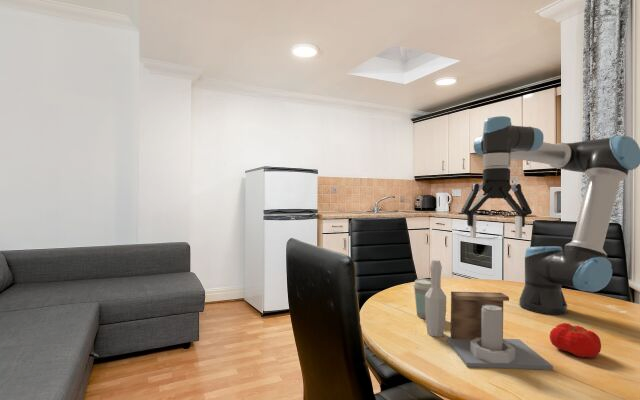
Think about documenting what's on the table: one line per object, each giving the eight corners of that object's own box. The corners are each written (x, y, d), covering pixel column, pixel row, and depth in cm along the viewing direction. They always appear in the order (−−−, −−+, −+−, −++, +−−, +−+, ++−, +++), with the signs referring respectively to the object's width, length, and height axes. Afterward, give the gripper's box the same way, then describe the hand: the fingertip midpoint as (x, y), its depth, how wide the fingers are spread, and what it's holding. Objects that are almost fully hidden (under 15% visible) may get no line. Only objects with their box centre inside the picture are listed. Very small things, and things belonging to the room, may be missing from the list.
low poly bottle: (421, 329, 111) (422, 258, 110) (442, 330, 110) (443, 258, 110) (427, 337, 104) (428, 262, 104) (449, 338, 104) (450, 262, 104)
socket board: (519, 342, 101) (519, 330, 101) (552, 369, 85) (552, 355, 85) (446, 340, 102) (447, 328, 102) (466, 366, 86) (467, 352, 86)
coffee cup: (440, 321, 118) (440, 285, 118) (413, 319, 120) (414, 283, 120) (437, 313, 127) (437, 279, 126) (412, 311, 128) (412, 278, 128)
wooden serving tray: (500, 342, 101) (501, 292, 101) (508, 348, 97) (509, 297, 97) (450, 340, 102) (451, 291, 102) (455, 347, 98) (456, 295, 98)
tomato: (585, 364, 88) (585, 337, 88) (542, 347, 99) (542, 323, 98) (609, 357, 92) (609, 332, 92) (565, 341, 102) (565, 318, 102)
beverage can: (477, 350, 93) (477, 304, 93) (494, 350, 93) (495, 304, 93) (488, 359, 88) (488, 310, 88) (506, 358, 89) (506, 310, 89)
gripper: (531, 169, 113) (530, 236, 113) (451, 169, 114) (450, 235, 115) (545, 167, 106) (544, 239, 106) (459, 166, 107) (458, 238, 107)
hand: (495, 237), depth 110 cm, fingers open, 13 cm apart
